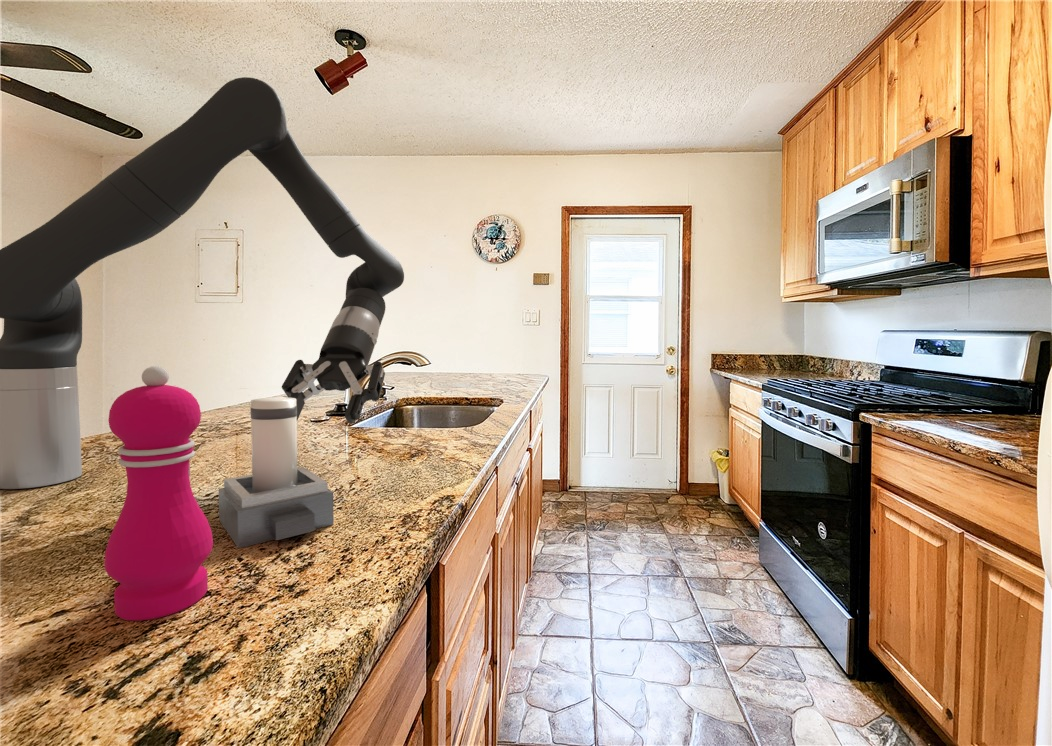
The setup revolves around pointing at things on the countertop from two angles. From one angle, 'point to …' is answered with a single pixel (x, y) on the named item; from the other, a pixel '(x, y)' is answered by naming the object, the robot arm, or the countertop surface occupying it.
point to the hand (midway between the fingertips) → (320, 419)
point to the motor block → (274, 509)
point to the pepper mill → (157, 503)
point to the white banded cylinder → (273, 443)
